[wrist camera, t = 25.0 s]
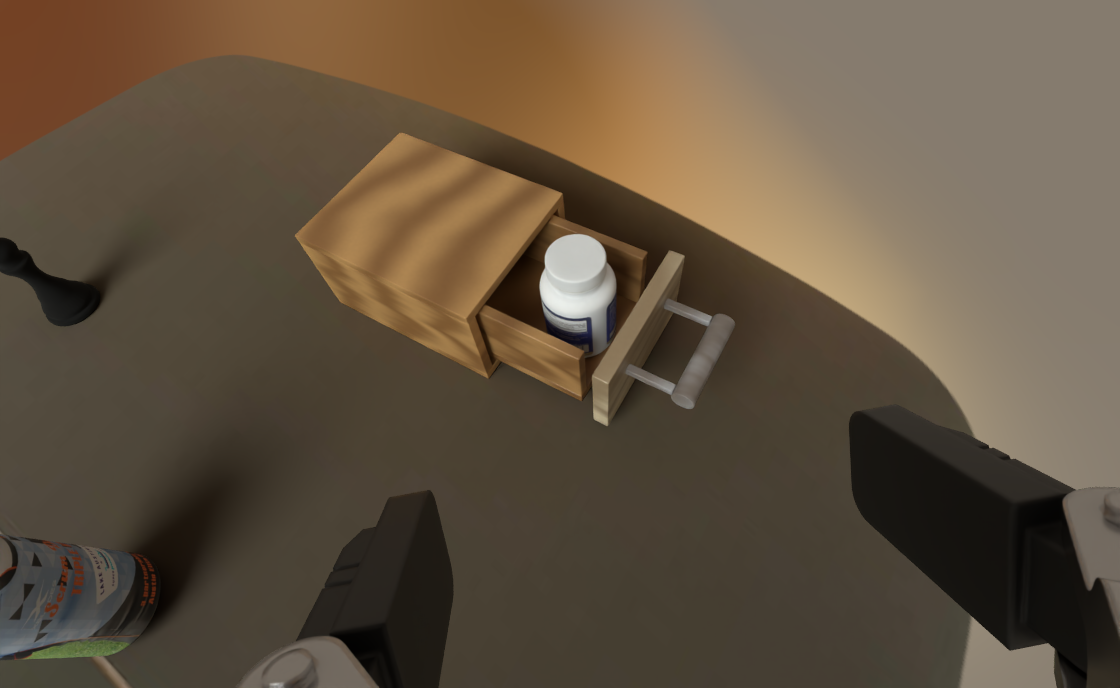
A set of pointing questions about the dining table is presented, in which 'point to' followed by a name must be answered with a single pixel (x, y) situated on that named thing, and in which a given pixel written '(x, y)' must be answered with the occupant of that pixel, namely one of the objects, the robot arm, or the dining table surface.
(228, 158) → the dining table surface
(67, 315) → the chess piece
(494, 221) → the cabinet
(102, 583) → the beverage can
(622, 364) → the drawer
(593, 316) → the pill bottle
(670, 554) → the dining table surface
